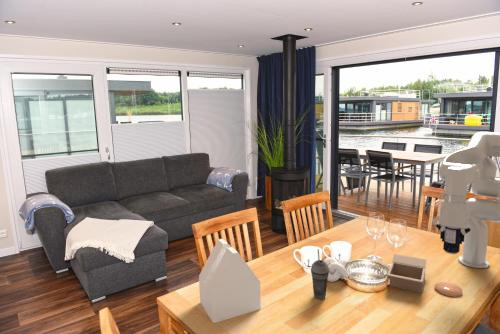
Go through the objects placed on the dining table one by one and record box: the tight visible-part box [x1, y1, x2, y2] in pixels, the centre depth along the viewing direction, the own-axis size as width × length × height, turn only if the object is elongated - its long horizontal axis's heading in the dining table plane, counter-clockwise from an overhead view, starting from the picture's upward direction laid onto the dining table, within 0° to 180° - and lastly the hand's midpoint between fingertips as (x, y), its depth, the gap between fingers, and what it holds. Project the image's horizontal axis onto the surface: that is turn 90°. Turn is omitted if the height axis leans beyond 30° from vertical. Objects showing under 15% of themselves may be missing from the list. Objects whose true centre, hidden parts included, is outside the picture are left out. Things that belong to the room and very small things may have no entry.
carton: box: [385, 253, 427, 293], centre depth 154 cm, size 23×14×7 cm, turn 150°
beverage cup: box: [310, 248, 329, 301], centre depth 143 cm, size 7×7×20 cm
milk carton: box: [198, 238, 262, 324], centre depth 138 cm, size 19×15×25 cm
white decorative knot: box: [323, 257, 350, 282], centre depth 158 cm, size 11×12×9 cm
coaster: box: [434, 281, 463, 298], centre depth 147 cm, size 10×10×1 cm
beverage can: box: [442, 227, 461, 255], centre depth 143 cm, size 6×6×12 cm
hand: (451, 241), depth 143 cm, fingers closed on beverage can, 5 cm apart
